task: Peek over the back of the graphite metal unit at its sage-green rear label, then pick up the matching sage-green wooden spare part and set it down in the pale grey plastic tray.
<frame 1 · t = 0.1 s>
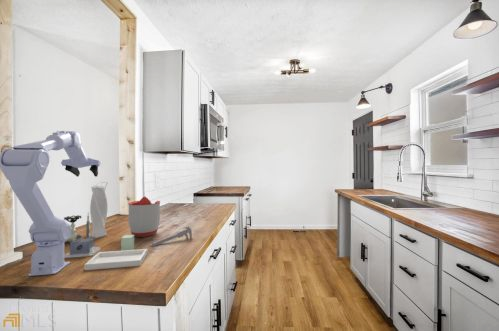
hand: (87, 174, 111), 32 cm above the worktop, tool tilted 50°, fingers open, 7 cm apart
parts tray: (118, 261, 90), on the worktop
citrus juicer: (145, 234, 126), on the worktop
spare part: (127, 250, 102), on the worktop
mounted unit: (83, 253, 98), on the worktop
twisted vase: (98, 236, 123), on the worktop
valve: (72, 242, 113), on the worktop
caliper: (171, 242, 113), on the worktop
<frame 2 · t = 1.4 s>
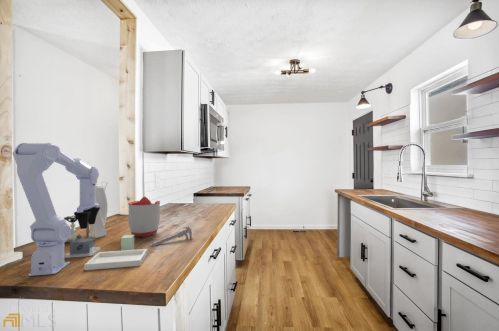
hand: (87, 226, 102), 10 cm above the worktop, tool pointing down, fingers open, 7 cm apart
nothing on the worktop moved.
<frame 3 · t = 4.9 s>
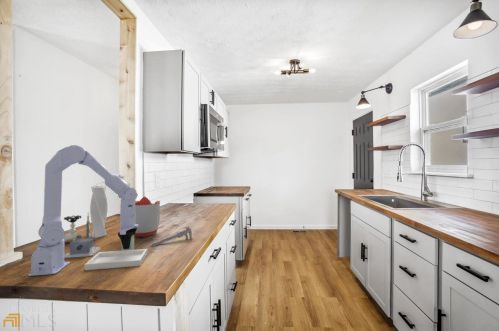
hand: (127, 246, 102), 1 cm above the worktop, tool pointing down, fingers closed on spare part, 4 cm apart
spare part: (127, 250, 102), on the worktop, touching gripper
everything else where it was.
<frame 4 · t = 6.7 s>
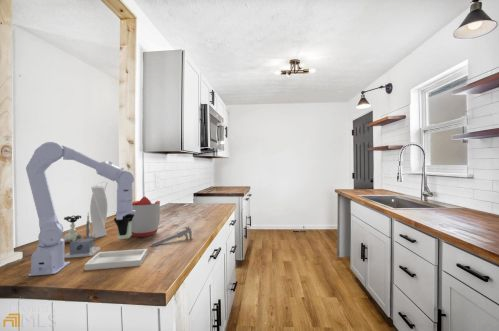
hand: (124, 233, 97), 8 cm above the worktop, tool pointing down, fingers closed on spare part, 4 cm apart
spare part: (124, 237, 97), point 7 cm above the worktop, touching gripper
everything else where it was.
when the fingers open (3 cm above the worktop, at t = 8.6 s): spare part stays where it is, resting on parts tray.
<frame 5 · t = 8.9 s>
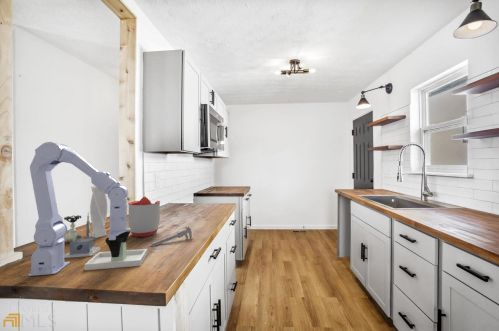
hand: (118, 253, 90), 3 cm above the worktop, tool pointing down, fingers open, 6 cm apart
spare part: (118, 259, 90), resting on parts tray
everything else where it was.
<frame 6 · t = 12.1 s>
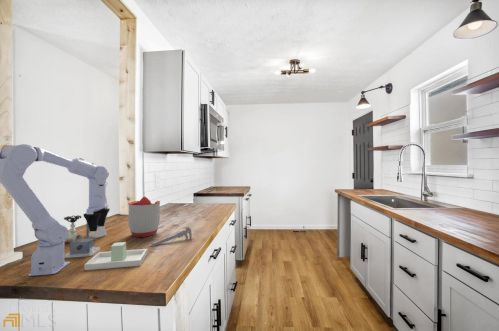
hand: (97, 228, 97), 10 cm above the worktop, tool pointing down, fingers open, 7 cm apart
nothing on the worktop moved.
at the end: spare part inside the target area on the parts tray (0.1 cm from its centre), point 0.5 cm above the parts tray's base; spare part tilted 0°; the gripper is holding nothing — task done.
